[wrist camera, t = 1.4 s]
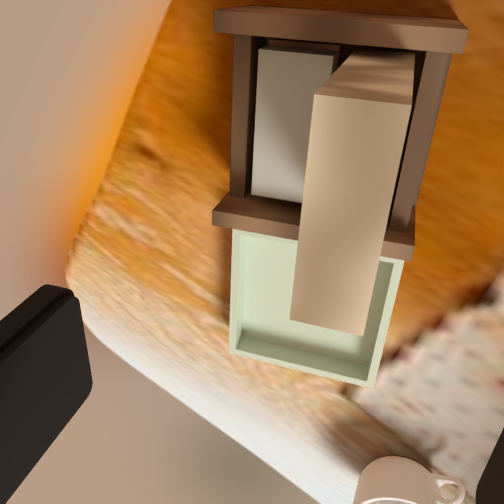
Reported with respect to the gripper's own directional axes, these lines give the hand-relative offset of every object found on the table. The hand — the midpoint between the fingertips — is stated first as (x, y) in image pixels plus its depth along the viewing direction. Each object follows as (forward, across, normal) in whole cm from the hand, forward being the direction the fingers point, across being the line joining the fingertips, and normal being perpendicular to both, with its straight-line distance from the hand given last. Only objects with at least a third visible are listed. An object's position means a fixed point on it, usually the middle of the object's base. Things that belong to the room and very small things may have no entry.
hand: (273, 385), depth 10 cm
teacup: (+24, -9, +31) cm, 41 cm away
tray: (+24, +2, +14) cm, 28 cm away
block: (+23, -1, 0) cm, 23 cm away
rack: (+24, +2, 0) cm, 24 cm away
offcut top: (+21, +4, 0) cm, 22 cm away
